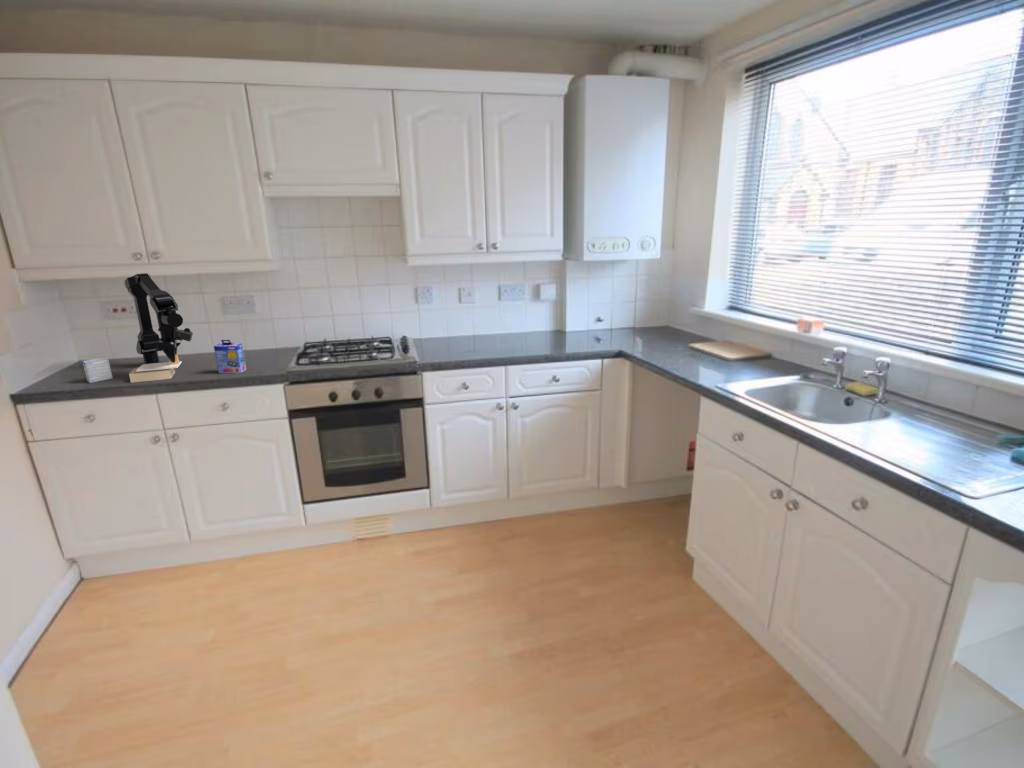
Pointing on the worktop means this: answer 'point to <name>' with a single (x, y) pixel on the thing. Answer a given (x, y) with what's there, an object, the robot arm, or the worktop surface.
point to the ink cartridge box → (230, 357)
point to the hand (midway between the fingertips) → (174, 361)
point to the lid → (160, 365)
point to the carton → (151, 375)
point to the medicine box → (97, 370)
